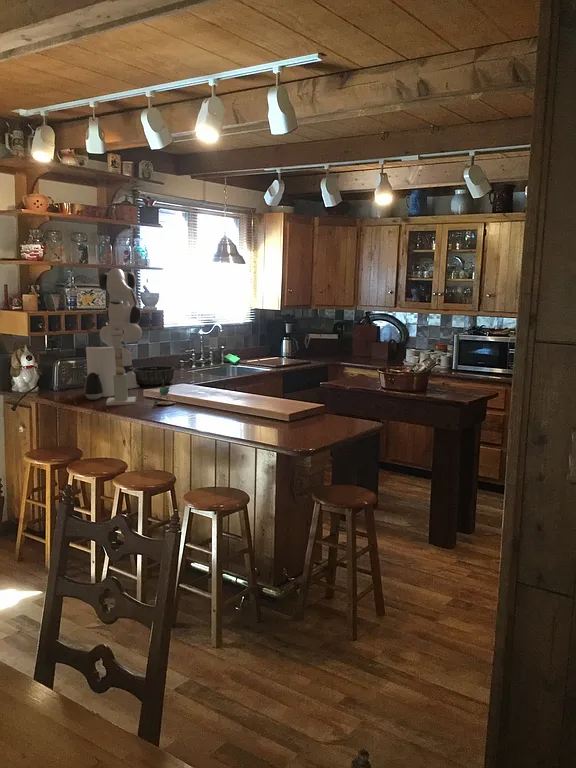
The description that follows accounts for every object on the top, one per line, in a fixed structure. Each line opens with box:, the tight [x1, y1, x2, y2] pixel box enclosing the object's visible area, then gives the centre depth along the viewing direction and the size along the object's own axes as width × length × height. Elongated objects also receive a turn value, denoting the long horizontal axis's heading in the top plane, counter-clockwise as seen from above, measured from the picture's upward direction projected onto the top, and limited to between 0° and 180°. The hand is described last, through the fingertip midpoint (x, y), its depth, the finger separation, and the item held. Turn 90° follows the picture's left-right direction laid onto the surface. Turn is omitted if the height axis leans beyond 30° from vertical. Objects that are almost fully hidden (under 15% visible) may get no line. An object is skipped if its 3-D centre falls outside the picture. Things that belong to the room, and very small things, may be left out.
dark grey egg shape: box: [83, 372, 103, 401], centre depth 386 cm, size 10×10×15 cm
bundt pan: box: [132, 365, 175, 386], centre depth 438 cm, size 26×26×10 cm
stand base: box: [105, 373, 137, 406], centre depth 375 cm, size 15×15×16 cm
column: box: [115, 341, 125, 375], centre depth 372 cm, size 6×6×26 cm
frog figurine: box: [151, 380, 177, 409], centre depth 366 cm, size 10×18×15 cm, turn 137°
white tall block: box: [85, 346, 116, 398], centre depth 400 cm, size 17×17×28 cm
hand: (119, 356), depth 372 cm, fingers open, 8 cm apart
